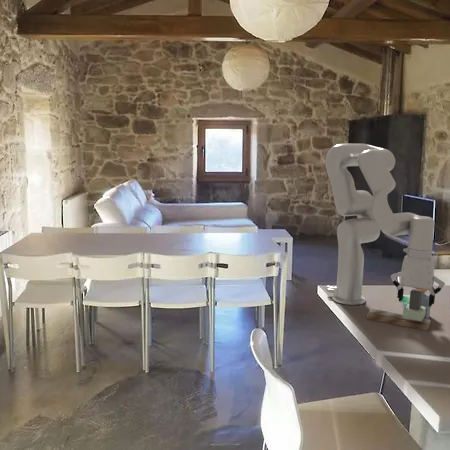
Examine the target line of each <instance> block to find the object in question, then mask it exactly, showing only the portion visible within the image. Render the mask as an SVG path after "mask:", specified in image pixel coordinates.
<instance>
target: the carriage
mask: <svg viewBox="0 0 450 450" xmlns="http://www.w3.org/2000/svg"><path fill="white" fill-rule="evenodd" d="M409 293H410V294H409V295H410V302H409V304H407V306H406V307H403V310H402V314H403V318H406V319H412V320H417V321H422V320H423V318H424V317H425V315H426V307H424V306H421V298H422V290H418V289H415V288H412V289H411V291H410V292H409Z"/></svg>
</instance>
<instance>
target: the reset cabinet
mask: <svg viewBox="0 0 450 450" xmlns="http://www.w3.org/2000/svg"><path fill="white" fill-rule="evenodd" d="M429 295H430V293H426V292H425V297H422V298H421V306H424V307H426V315H425V317H424V319H429V317H430V316H431V307H429V306H428V305H429Z"/></svg>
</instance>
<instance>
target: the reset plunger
mask: <svg viewBox="0 0 450 450" xmlns="http://www.w3.org/2000/svg"><path fill="white" fill-rule="evenodd" d="M414 289H418V290H422V297H425V293H426V292H428V291H429V290H428V289H419V288H414Z"/></svg>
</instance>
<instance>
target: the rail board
mask: <svg viewBox="0 0 450 450" xmlns="http://www.w3.org/2000/svg"><path fill="white" fill-rule="evenodd" d="M366 319H367V320H372V321H378V322H381V323H386V324H392V325H396V326H401V327H402V326H403V327H408V328H413V329H416V330H417V329H418V330H421V331H426V332H427V331H428V330H429V328H430V326H431V325H432V319H429V318H428V319H424V318H423V320H422V321H417V320H412V319H406V318H403V313H397V312H393V311H386V310H381V309H376V308H370V309H369V312H368V313H367V314H366Z"/></svg>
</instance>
